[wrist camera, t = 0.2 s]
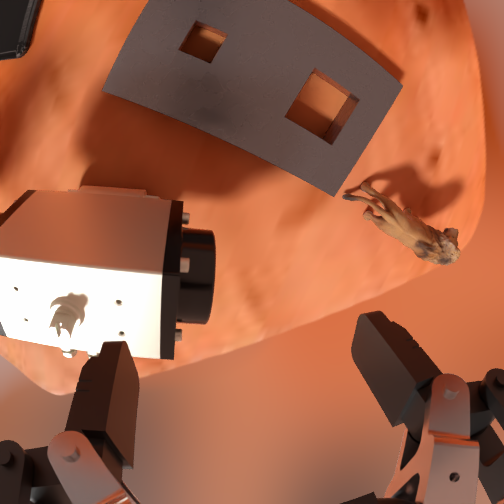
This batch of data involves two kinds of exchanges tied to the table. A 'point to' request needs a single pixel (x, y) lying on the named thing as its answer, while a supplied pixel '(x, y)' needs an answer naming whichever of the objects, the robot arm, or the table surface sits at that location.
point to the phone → (16, 26)
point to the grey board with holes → (255, 81)
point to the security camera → (103, 270)
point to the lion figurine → (410, 229)
